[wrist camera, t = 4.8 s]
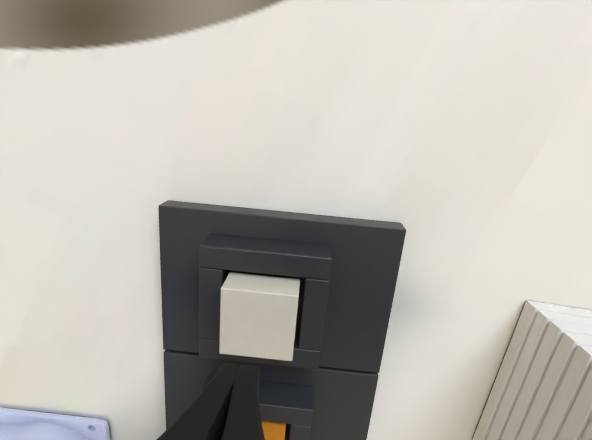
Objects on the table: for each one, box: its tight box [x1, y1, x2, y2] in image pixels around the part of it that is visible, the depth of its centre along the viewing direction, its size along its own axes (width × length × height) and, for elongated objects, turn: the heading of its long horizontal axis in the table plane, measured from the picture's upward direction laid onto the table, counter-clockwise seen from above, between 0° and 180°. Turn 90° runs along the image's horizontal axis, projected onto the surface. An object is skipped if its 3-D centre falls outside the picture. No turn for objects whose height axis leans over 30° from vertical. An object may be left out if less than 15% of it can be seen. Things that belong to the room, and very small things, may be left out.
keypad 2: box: [159, 201, 406, 373], centre depth 19 cm, size 13×9×3 cm
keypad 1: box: [164, 350, 378, 440], centre depth 21 cm, size 13×9×3 cm
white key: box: [219, 272, 300, 361], centre depth 17 cm, size 4×4×2 cm
